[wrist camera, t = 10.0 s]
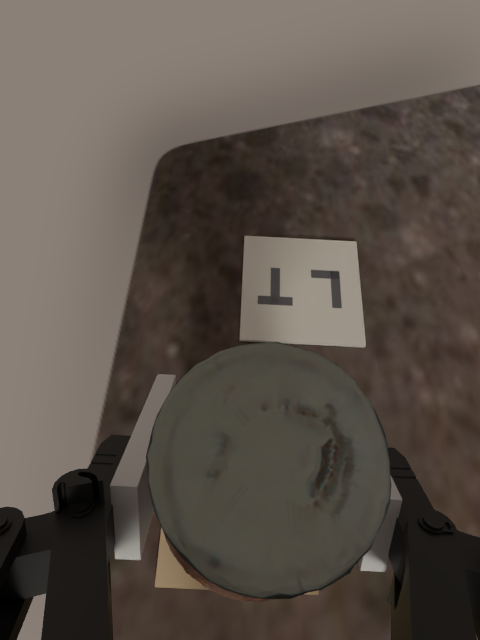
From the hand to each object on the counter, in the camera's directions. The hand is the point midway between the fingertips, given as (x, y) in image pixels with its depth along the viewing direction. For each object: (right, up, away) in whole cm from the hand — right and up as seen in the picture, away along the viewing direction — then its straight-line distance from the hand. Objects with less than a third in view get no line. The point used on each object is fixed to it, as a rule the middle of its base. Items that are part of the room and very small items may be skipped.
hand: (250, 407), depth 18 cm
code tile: (+4, +6, +14) cm, 15 cm away
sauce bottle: (0, -7, +7) cm, 10 cm away
